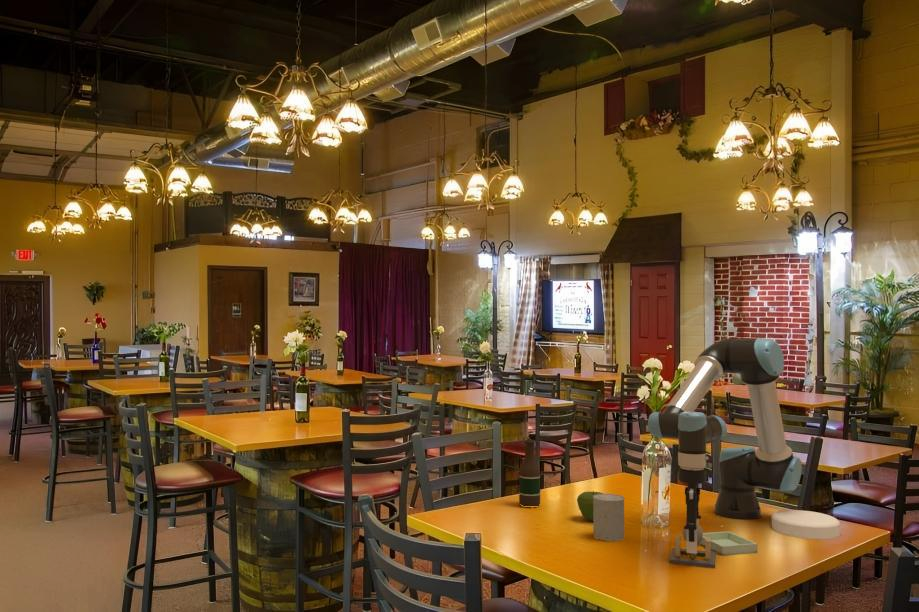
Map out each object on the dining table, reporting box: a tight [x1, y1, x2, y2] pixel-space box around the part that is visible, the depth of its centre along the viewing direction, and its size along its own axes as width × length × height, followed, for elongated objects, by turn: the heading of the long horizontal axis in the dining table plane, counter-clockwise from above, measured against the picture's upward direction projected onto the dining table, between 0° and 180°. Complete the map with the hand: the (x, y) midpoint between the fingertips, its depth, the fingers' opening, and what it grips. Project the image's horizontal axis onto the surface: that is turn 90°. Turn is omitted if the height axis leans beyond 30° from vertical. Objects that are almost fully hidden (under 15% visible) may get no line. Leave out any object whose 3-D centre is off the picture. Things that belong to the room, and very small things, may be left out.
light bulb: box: [682, 523, 704, 560], centre depth 205 cm, size 5×6×10 cm
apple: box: [576, 490, 605, 522], centre depth 247 cm, size 11×10×10 cm
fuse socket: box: [668, 533, 717, 569], centre depth 205 cm, size 12×12×6 cm
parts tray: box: [699, 530, 759, 556], centre depth 217 cm, size 14×12×2 cm
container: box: [771, 509, 841, 540], centre depth 235 cm, size 20×20×5 cm
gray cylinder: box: [592, 493, 625, 542], centre depth 227 cm, size 10×10×12 cm
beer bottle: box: [518, 438, 541, 507], centre depth 267 cm, size 8×8×24 cm
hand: (692, 547), depth 205 cm, fingers open, 10 cm apart
